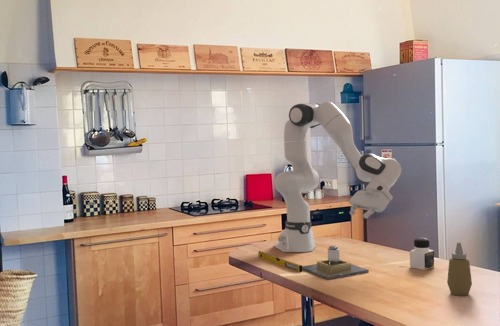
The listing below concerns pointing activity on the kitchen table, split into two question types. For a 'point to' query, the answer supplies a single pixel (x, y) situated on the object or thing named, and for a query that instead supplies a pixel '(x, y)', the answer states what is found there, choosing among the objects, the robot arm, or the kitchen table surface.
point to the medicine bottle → (421, 255)
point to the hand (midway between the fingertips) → (357, 215)
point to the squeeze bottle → (459, 273)
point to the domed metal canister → (333, 255)
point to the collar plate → (334, 269)
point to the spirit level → (280, 261)
